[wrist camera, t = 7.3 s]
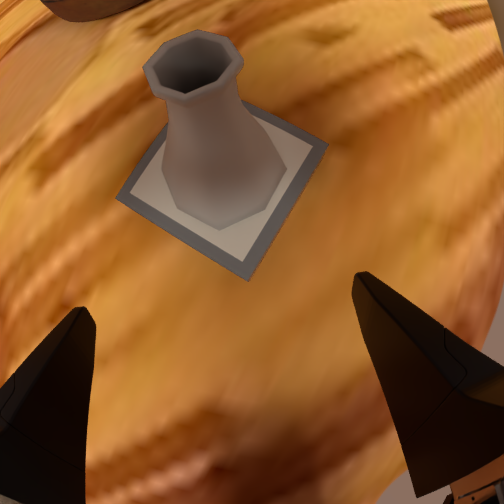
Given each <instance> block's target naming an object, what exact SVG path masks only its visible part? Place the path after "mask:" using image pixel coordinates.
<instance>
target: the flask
mask: <svg viewBox="0 0 504 504" xmlns="http://www.w3.org/2000/svg"><path fill="white" fill-rule="evenodd" d="M243 65H244V60H243V58H242V56H241V55H240V53H239V52H238V51H237V49H236V48H235V46H234V45H233V43H232V42H231V41H230V39H229V38H228V37H225V36H222V35H218V34H214V33H210V32H206V31H202V30H198V29H197V30H194V31H192V32H189V33H186V34H184V35H181V36H179V37H176V38H174V39H171V40H169V41H167V42H164V43H163V44H162V45H161V46H160V47H159V49H158V50H157V51H156V52H155V53H154V54H153V55H152V56H151V57H150V59H149V60H148V61H147V62H146V63H145V64H144V65H143V70H144V72H145V75H146V77H147V80H148V82H149V85H150V87H151V90H152V92H153V94H154V95H155V96H156V97H158V98H160V99H163V100H166V106H167V112H168V118H169V122H168V129H167V137H166V145H165V150H164V155H163V160H162V167H161V170H162V172H163V175H164V177H165V180H166V182H167V185H168V187H169V190H170V192H171V195H172V197H173V200H174V202H175V205H176V207H177V209H179V210H181V211H182V212H184V213H186V214H188V215H190V216H192V217H194V218H196V219H198V220H200V221H201V222H203V223H205V224H207V225H209V226H211V227H213V228H215V229H217V230H219V231H220V230H222V229H224V228H226V227H228V226H230V225H233V224H235V223H237V222H239V221H241V220H243V219H246V218H248V217H250V216H252V215H254V214H257V213H259V212H261V211H263V210H265V208H266V207H267V205H268V203H269V201H270V199H271V197H272V196H273V194H274V192H275V190H276V188H277V186H278V185H279V183H280V181H281V179H282V177H283V175H284V174H285V172H286V170H287V168H286V166H285V164H284V163H283V161H282V159H281V157H280V155H279V153H278V152H277V150H276V148H275V146H274V145H273V143H272V141H271V139H270V137H269V136H268V134H267V132H266V131H265V129H264V128H263V127H262V126H261V125H260V124H259V123H258V121H257V120H256V119H255V118H254V117H253V116H252V115H251V114H250V113H249V111H248V110H247V109H246V108H245V107H244V105H243V104H242V102H241V99H240V97H239V95H238V90H237V82H236V76H237V74H238V73H239V72H240V71H241V69H242V68H243Z"/></svg>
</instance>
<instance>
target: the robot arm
mask: <svg viewBox="0 0 504 504" xmlns="http://www.w3.org/2000/svg"><path fill="white" fill-rule="evenodd" d="M352 299H353V303H354V306H355V310H356V313H357V317H358V321H359V324H360V328H361V332H362V335H363V339H364V341H365V344H366V347H367V349H368V352H369V354H370V357H371V360H372V362H373V365H374V368H375V370H376V373H377V376H378V379H379V381H380V384H381V387H382V390H383V392H384V395H385V398H386V401H387V404H388V407H389V410H390V413H391V416H392V419H393V422H394V425H395V428H396V431H397V434H398V437H399V440H400V443H401V445H402V446H401V447H402V450H403V453H404V457H405V460H406V463H407V467H408V470H409V474H410V477H411V481H412V484H413V488H414V492H415V494H416V497H417V498H419V497H422V496H424V495H426V494H429V493H431V492H434V491H436V490H438V489H440V488H442V487H445V486H447V485H450V488H451V491H452V493H451V494H449V495H447V497H446V499H445V501H444V502H443V504H504V366H502V365H500V364H499V363H497V362H496V361H494V360H492V359H491V358H489V357H487V356H486V355H485V354H483V353H481V352H480V351H478V350H477V349H475V348H474V347H472V346H471V345H469V344H468V343H466V342H465V341H463V340H462V339H461V338H459V337H458V336H456V335H455V334H454V333H452V332H451V331H450V330H448V329H447V328H444V326H443V325H442V324H440V323H439V322H438V321H436V320H435V319H433V318H432V317H431V316H429V315H428V314H427V313H425V312H424V311H423V310H421V309H420V308H419V307H417V306H416V305H414V304H413V303H412V302H410V301H409V300H407V299H406V298H405V297H403V296H402V295H401V294H399V293H398V292H396V291H395V290H393V289H392V288H391V287H389V286H388V285H386V284H385V283H384V282H382V281H381V280H379V279H378V278H376V277H375V276H374V275H372V274H371V273H369V272H367V271H364V272H358V273H356V274H355V275H354V281H353V287H352ZM95 340H96V324H95V321H94V320H93V318H92V316H91V315H90V313H89V311H88V310H87V308H86V307H84V306H82V307H75V308H73V309H72V310H71V311H70V312H69V313H68V314H67V315H66V316H65V317H64V319H63V320H62V321H61V322H60V323H59V324H58V325H57V326H56V327H55V328H54V329H53V330H52V331H51V332H50V333H49V334H48V335H47V336H46V337H45V339H44V340H43V341H42V342H41V343H40V344H39V345H38V346H37V347H36V348H35V349H34V350H33V352H32V353H31V354H30V355H29V356H28V357H27V358H26V359H25V361H24V362H23V363H22V364H21V365H20V366H19V367H18V369H17V370H16V371H15V373H13V374H12V375H11V377H10V378H9V379H8V380H7V381H6V382H5V384H4V385H3V386H2V387H1V388H0V504H86V500H85V462H86V439H87V425H88V413H89V403H90V394H91V385H92V378H93V370H94V357H95Z"/></svg>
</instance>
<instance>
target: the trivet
mask: <svg viewBox="0 0 504 504" xmlns="http://www.w3.org/2000/svg"><path fill="white" fill-rule="evenodd" d="M241 102H242V104H243V105H244V107H245V108H246V109H247V110H248V111H249V113H250V114H251V115H252V116H253V117H254V118H255V119H256V120H257V121H258V123H259V124H260V125H261V126H262V127H263V128H264V129H265V131H266V132H267V134H268V136H269V137H270V139H271V141H272V143H273V145H274V146H275V148H276V150H277V152H278V153H279V155H280V157H281V159H282V161H283V163H284V164H285V166H286V168H287V170H286V172H285V174H284V175H283V177H282V179H281V181H280V183H279V185H278V186H277V188H276V190H275V192H274V194H273V196H272V197H271V199H270V201H269V203H268V205H267V207H266V208H265V210H263V211H261V212H259V213H257V214H254V215H252V216H250V217H248V218H246V219H243V220H241V221H239V222H237V223H235V224H233V225H230V226H228V227H226V228H224V229H222V230H220V231H219V230H217V229H215V228H213V227H211V226H209V225H207V224H205V223H203V222H201V221H200V220H198V219H196V218H194V217H192V216H190V215H188V214H186V213H184V212H182V211H181V210H179V209H177V207H176V205H175V202H174V200H173V197H172V195H171V192H170V190H169V187H168V185H167V182H166V180H165V177H164V175H163V172H162V170H161V167H162V160H163V155H164V150H165V145H166V137H167V129H168V123H167V124H166V125H165V127H164V128H163V129H162V131H161V132H160V133H159V135H158V136H157V137H156V139H155V140H154V142H153V143H152V144H151V146H150V147H149V149H148V150H147V151H146V153H145V154H144V156H143V157H142V158H141V160H140V161H139V163H138V164H137V166H136V167H135V169H134V170H133V172H132V173H131V175H130V176H129V178H128V179H127V181H126V182H125V184H124V185H123V187H122V188H121V190H120V192H119V193H118V195H117V196H116V198H115V199H117V200H118V201H120V202H121V203H123V204H125V205H126V206H128V207H129V208H131V209H132V210H134V211H135V212H137V213H139V214H140V215H142V216H143V217H145V218H146V219H148V220H149V221H151V222H153V223H154V224H156V225H157V226H159V227H160V228H162V229H164V230H165V231H167V232H168V233H170V234H172V235H173V236H175V237H176V238H178V239H179V240H181V241H183V242H184V243H186V244H187V245H189V246H191V247H192V248H194V249H196V250H197V251H199V252H200V253H202V254H204V255H205V256H207V257H208V258H210V259H212V260H213V261H215V262H217V263H218V264H220V265H221V266H223V267H225V268H226V269H228V270H230V271H231V272H233V273H235V274H236V275H238V276H239V277H241V278H243V279H244V280H246V281H248V282H249V281H250V279H251V277H252V276H253V274H254V273H255V271H256V269H257V268H258V266H259V264H260V263H261V261H262V259H263V258H264V256H265V254H266V253H267V251H268V249H269V248H270V246H271V244H272V243H273V241H274V239H275V238H276V236H277V234H278V233H279V231H280V229H281V228H282V226H283V224H284V223H285V221H286V219H287V218H288V216H289V214H290V212H291V211H292V209H293V207H294V206H295V204H296V202H297V201H298V199H299V197H300V196H301V194H302V192H303V191H304V189H305V187H306V185H307V184H308V182H309V180H310V179H311V177H312V175H313V174H314V172H315V170H316V169H317V167H318V165H319V163H320V162H321V160H322V158H323V156H324V154H325V152H326V150H327V147H328V145H329V144H327V143H326V142H324V141H322V140H320V139H319V138H317V137H315V136H313V135H311V134H309V133H308V132H306V131H304V130H302V129H300V128H298V127H296V126H294V125H292V124H291V123H289V122H287V121H285V120H283V119H281V118H279V117H277V116H275V115H273V114H271V113H268V112H266V111H264V110H262V109H260V108H258V107H256V106H254V105H252V104H249V103H247V102H245V101H243V100H241Z"/></svg>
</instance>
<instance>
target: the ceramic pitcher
mask: <svg viewBox="0 0 504 504" xmlns="http://www.w3.org/2000/svg"><path fill="white" fill-rule="evenodd" d="M40 1H41V2H42V3H43V4H44V5H45V6H46V7H48V8H49V9H50V10H51V11H52V12H53V13H54V14H56V15H57V16H59V17H60V18H62V19H64V20H67V21H70V22H86V21H92V20H97V19H100V18H103V17H106V16H109V15H111V14H115V13H119V12H121V11H123V10H126V9H128V8H130V7H132V6H134V5H136V4H139V3H140V2H142V1H144V0H40Z"/></svg>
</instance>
